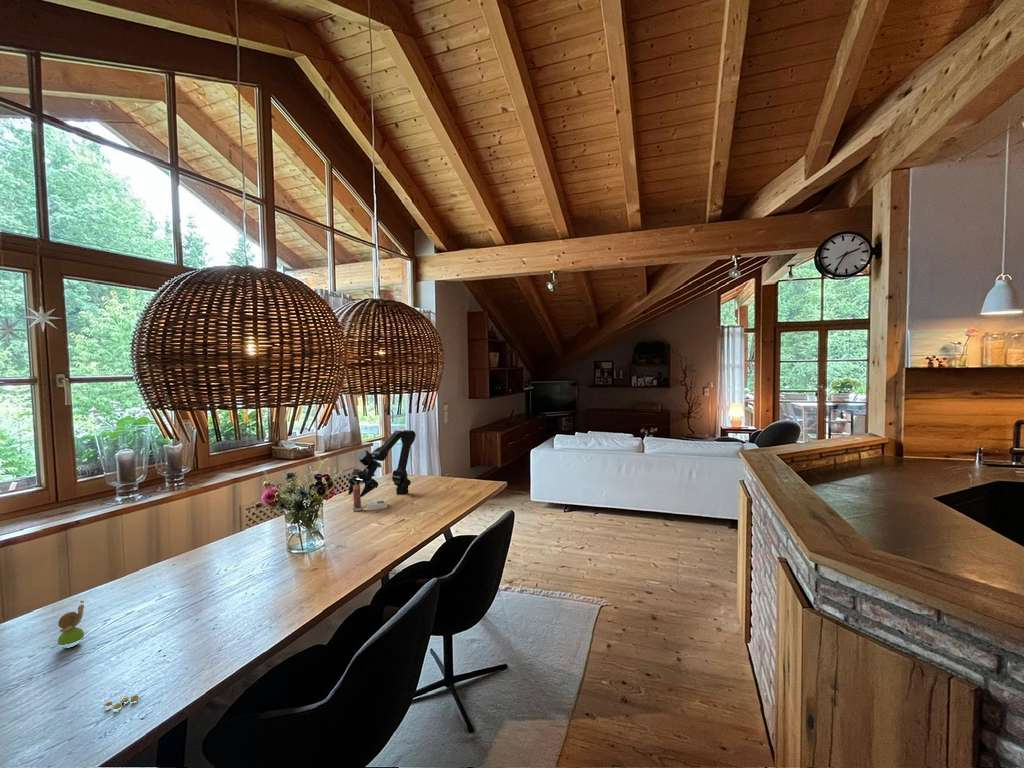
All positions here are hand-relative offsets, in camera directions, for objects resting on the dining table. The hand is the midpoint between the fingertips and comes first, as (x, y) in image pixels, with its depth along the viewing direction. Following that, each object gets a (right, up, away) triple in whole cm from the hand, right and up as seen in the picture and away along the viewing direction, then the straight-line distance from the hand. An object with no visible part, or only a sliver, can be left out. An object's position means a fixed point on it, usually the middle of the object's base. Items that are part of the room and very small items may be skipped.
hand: (354, 495), depth 238 cm
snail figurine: (-45, -17, -107) cm, 117 cm away
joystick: (+1, -8, +2) cm, 9 cm away
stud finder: (+10, -8, +6) cm, 14 cm away
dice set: (-10, -18, -131) cm, 132 cm away
